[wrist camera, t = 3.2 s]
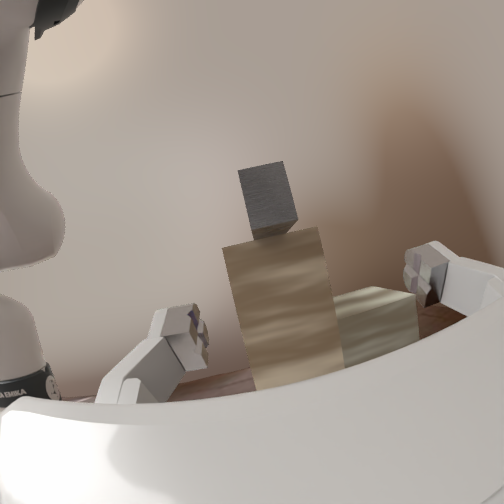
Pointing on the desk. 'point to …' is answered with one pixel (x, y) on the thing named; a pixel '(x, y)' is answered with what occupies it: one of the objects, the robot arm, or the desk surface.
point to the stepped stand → (309, 312)
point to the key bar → (268, 200)
